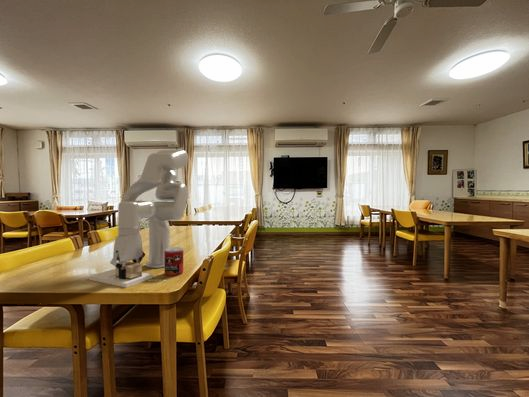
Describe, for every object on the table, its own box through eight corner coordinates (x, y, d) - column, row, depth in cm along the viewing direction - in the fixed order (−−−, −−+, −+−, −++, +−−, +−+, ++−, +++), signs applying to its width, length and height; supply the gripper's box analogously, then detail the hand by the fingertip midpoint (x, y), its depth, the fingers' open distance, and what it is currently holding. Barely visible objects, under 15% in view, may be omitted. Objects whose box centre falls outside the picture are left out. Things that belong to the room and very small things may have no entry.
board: (116, 271, 110) (116, 268, 110) (152, 277, 102) (152, 274, 102) (88, 279, 99) (88, 275, 99) (126, 287, 91) (126, 283, 91)
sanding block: (126, 273, 103) (126, 261, 103) (141, 276, 99) (142, 263, 99) (115, 276, 98) (115, 264, 98) (130, 279, 94) (130, 267, 94)
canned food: (160, 276, 104) (160, 250, 104) (170, 270, 112) (170, 246, 112) (177, 277, 103) (177, 251, 103) (186, 271, 111) (186, 247, 111)
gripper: (140, 228, 108) (140, 269, 108) (101, 234, 92) (101, 281, 92) (153, 229, 105) (152, 271, 105) (114, 235, 89) (114, 284, 89)
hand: (128, 276), depth 99 cm, fingers closed on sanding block, 5 cm apart
